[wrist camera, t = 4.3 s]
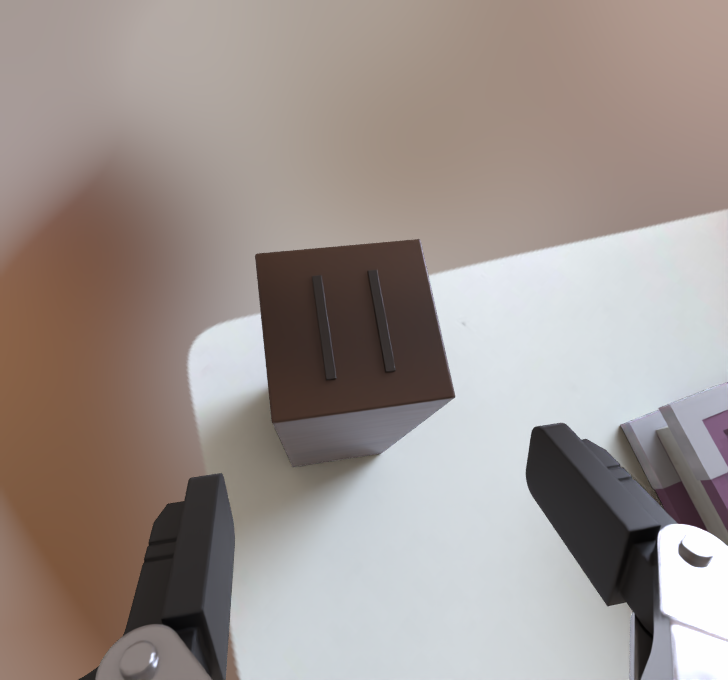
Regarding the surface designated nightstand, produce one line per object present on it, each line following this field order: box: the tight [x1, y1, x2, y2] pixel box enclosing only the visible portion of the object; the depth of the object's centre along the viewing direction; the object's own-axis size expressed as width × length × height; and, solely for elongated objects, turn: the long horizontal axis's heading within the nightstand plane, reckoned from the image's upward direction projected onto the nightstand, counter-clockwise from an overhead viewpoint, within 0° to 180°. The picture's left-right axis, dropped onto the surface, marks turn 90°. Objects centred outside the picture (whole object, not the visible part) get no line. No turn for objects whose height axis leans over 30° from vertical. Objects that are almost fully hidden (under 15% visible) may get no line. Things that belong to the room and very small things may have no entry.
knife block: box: [255, 239, 455, 467], centre depth 22 cm, size 6×6×16 cm
